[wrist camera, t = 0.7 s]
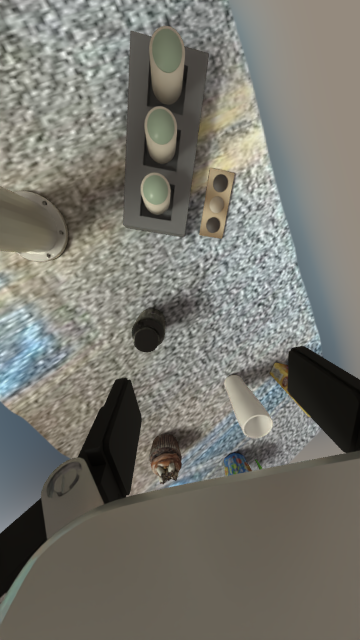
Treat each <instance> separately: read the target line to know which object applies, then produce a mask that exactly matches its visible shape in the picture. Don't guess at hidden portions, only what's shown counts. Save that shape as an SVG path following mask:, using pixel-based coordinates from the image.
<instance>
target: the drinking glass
mask: <svg viewBox="0 0 360 640" xmlns="http://www.w3.org/2000/svg"><path fill="white" fill-rule="evenodd" d="M224 386H225V388H226V390H227V393H228V396H229V398H230V401H231V404H232V407H233V410H234V413H235V415H236V418H237V420H238V423H239V425H240V427H241V429H242V430H243V432H244V434H245V435H246V436H248V437H250V438H260V437H263V436H265V435H266V434H268V433H269V432H270V430H271V429H272V426H273V421H272V419H271V417H270V416H269V414H268V412H267V411H266V409H265V408H264V406H263V405H262V404H261V402H260V401H259V400H258V399H257V398H256V396H255V395H254V394H253V393H252V391H251V390H250V389H249V388H248V387H247V385H246V384H245V383H244V382H243V380H242V379H241V377H239V376H238V375H231V376H229V377H227V378H226V380H225V382H224Z"/></svg>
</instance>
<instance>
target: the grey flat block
mask: <svg viewBox="0 0 360 640" xmlns="http://www.w3.org/2000/svg"><path fill="white" fill-rule="evenodd" d="M150 40H151V36H147V35H144V34H141V33H137V32H134V31H131V34H130V60H129V86H128V112H127V138H126V164H125V190H124V216H123V225H124V226H125V227H126V228H130V229H136V230H142V231H148V232H154V233H160V234H166V235H172V236H178V237H184V235H185V228H186V221H187V214H188V206H189V199H190V191H191V184H192V176H193V169H194V161H195V154H196V147H197V139H198V132H199V124H200V117H201V109H202V102H203V95H204V87H205V80H206V72H207V65H208V57H209V53H205V52H202V51H198V50H195V49H192V48H188V47H185V46H184V48H185V61H184V71H183V82H182V91H181V94H180V97H179V98H178V100H177V101H176V102H175V103H173V104H170V105H166V104H163V103H161V102H160V101H159V100H158V99H157V98H156V96H155V94H154V92H153V89H152V79H151V66H150V53H149V46H150ZM157 106H162V107H165V108H167V109H168V110H170V111H171V112H172V114H173V115H174V117H175V120H176V123H177V137H176V149H175V154H174V156H173V158H172V160H171V161H169V162H168V163H166V164H160V163H157V162H155V161H154V160H153V159H152V158H151V156H150V154H149V152H148V147H147V140H146V134H145V119H146V116H147V114H148V112H149V111H150V110H151V109H152V108H154V107H157ZM150 173H159V174H161V175H163V176H164V177H165V178H166V179H167V181H168V182H169V185H170V190H171V192H170V204H169V207H168V209H167V210H166V212H164V213H163V214H160V215H156V214H153V213H151V212H150V211H149V210H148V209H147V208H146V206H145V203H144V201H143V198H142V195H141V183H142V181H143V179H144V177H145V176H147V175H148V174H150Z"/></svg>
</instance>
